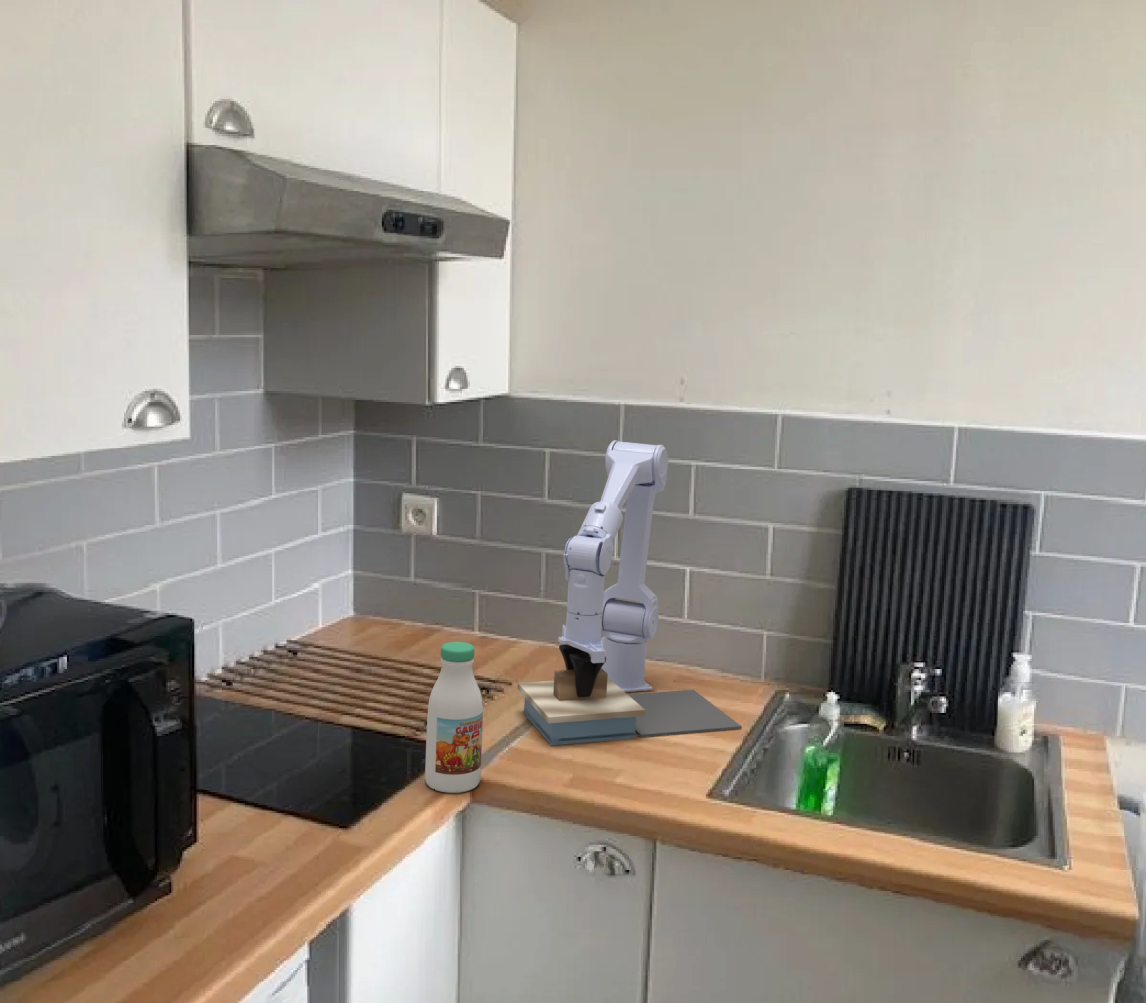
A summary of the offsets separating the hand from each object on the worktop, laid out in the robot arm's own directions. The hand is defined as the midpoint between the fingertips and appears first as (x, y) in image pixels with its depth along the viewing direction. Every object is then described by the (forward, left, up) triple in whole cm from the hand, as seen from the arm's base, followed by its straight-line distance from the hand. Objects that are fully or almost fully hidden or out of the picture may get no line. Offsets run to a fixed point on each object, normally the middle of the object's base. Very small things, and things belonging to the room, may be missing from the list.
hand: (580, 692), depth 182 cm
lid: (0, 0, -2) cm, 2 cm away
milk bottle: (+17, -25, -6) cm, 31 cm away
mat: (-2, +17, -6) cm, 18 cm away
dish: (0, 0, -6) cm, 6 cm away
